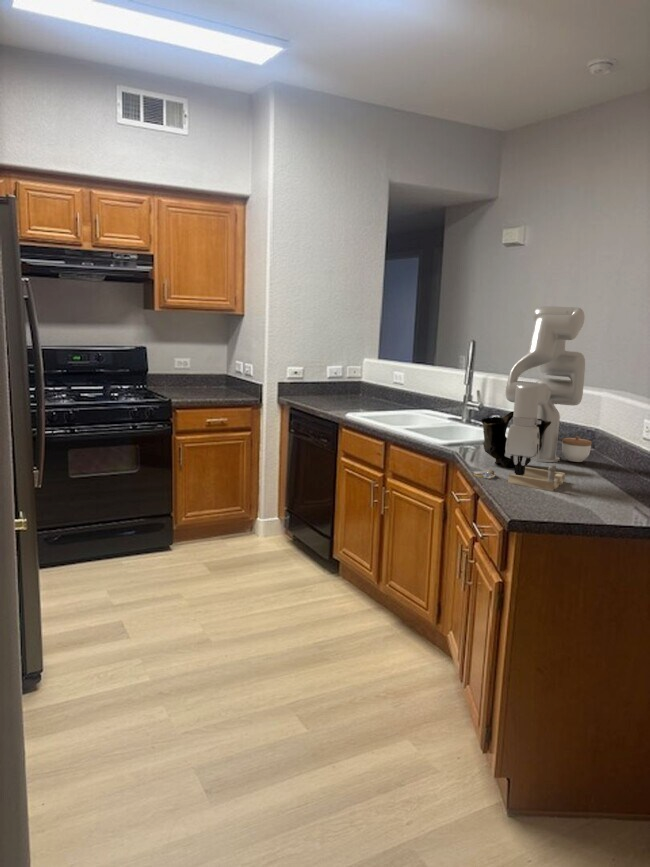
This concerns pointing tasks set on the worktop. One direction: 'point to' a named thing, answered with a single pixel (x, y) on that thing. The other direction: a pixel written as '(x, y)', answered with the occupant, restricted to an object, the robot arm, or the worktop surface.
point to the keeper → (539, 478)
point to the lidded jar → (576, 449)
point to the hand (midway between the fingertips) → (519, 476)
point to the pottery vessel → (503, 438)
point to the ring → (485, 473)
